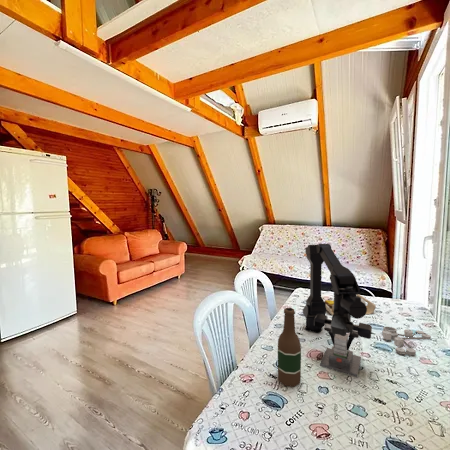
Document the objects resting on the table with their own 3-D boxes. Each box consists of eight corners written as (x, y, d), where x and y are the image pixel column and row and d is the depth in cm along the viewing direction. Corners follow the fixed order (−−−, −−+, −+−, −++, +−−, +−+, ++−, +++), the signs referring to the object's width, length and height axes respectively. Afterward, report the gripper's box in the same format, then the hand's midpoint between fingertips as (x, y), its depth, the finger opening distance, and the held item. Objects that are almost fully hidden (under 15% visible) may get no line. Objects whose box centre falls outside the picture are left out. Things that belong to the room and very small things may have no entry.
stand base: (319, 365, 94) (320, 356, 93) (327, 350, 104) (327, 341, 103) (357, 377, 87) (357, 367, 87) (360, 359, 97) (361, 350, 97)
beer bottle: (297, 391, 81) (297, 316, 79) (273, 382, 85) (273, 310, 83) (303, 376, 88) (304, 307, 86) (281, 369, 92) (282, 303, 90)
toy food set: (357, 302, 154) (358, 289, 154) (376, 315, 136) (376, 301, 136) (315, 303, 154) (315, 290, 153) (328, 316, 136) (328, 302, 135)
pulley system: (369, 346, 108) (412, 360, 96) (369, 334, 108) (412, 347, 96) (394, 328, 125) (433, 339, 113) (394, 318, 125) (433, 328, 113)
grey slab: (333, 359, 94) (334, 337, 93) (336, 351, 99) (336, 331, 98) (345, 362, 92) (346, 341, 91) (348, 355, 96) (348, 334, 96)
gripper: (309, 308, 92) (309, 351, 93) (370, 321, 82) (368, 368, 83) (317, 298, 101) (316, 337, 103) (372, 308, 91) (371, 351, 93)
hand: (341, 348), depth 95 cm, fingers closed on grey slab, 4 cm apart
